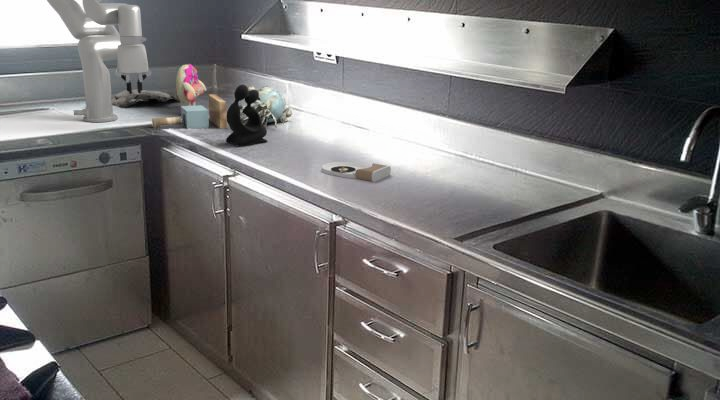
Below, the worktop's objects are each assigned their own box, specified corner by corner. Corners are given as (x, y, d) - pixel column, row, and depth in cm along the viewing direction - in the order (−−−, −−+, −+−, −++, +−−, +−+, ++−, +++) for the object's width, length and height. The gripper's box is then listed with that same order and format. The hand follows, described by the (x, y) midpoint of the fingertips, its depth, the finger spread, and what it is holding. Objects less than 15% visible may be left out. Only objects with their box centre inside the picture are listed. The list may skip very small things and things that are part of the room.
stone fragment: (114, 101, 313) (113, 86, 312) (180, 99, 320) (180, 85, 318) (109, 109, 289) (108, 93, 288) (181, 107, 296) (180, 92, 295)
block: (187, 128, 257) (186, 111, 255) (181, 123, 266) (180, 106, 264) (208, 127, 260) (208, 110, 258) (202, 121, 269) (201, 105, 267)
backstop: (220, 128, 258) (219, 101, 255) (209, 119, 274) (208, 94, 271) (226, 128, 259) (226, 101, 256) (215, 119, 275) (214, 94, 272)
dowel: (153, 130, 257) (153, 123, 254) (151, 123, 259) (152, 116, 256) (180, 128, 261) (181, 122, 258) (179, 121, 263) (179, 115, 260)
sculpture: (294, 109, 283) (303, 112, 254) (262, 140, 282) (268, 148, 254) (259, 73, 278) (264, 73, 249) (227, 105, 277) (228, 109, 248)
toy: (195, 119, 274) (193, 67, 268) (173, 118, 274) (170, 67, 268) (209, 108, 298) (208, 60, 292) (189, 107, 298) (186, 60, 292)
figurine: (237, 147, 230) (236, 87, 224) (222, 143, 236) (221, 84, 230) (271, 142, 240) (271, 84, 234) (256, 137, 246) (256, 81, 240)
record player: (372, 173, 194) (313, 162, 204) (371, 183, 195) (314, 173, 205) (392, 164, 204) (336, 155, 214) (392, 175, 205) (336, 165, 215)
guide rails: (159, 129, 254) (159, 126, 254) (156, 125, 261) (156, 122, 260) (184, 127, 258) (184, 124, 258) (181, 124, 264) (180, 120, 264)
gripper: (153, 39, 252) (156, 90, 257) (106, 40, 245) (110, 92, 251) (156, 41, 245) (159, 93, 251) (108, 42, 239) (112, 95, 244)
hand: (134, 92), depth 251 cm, fingers closed
